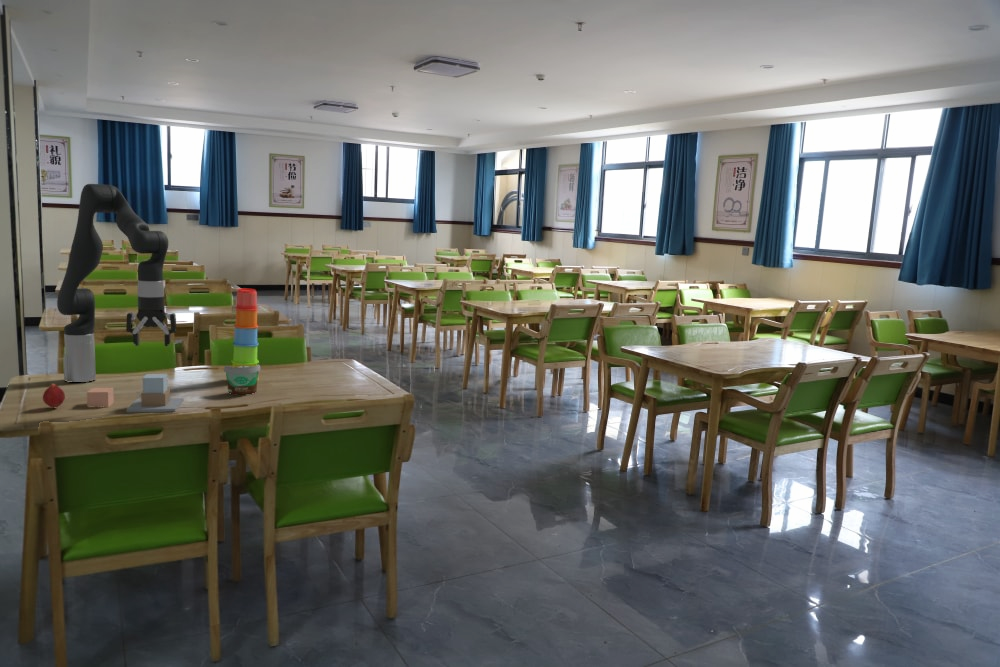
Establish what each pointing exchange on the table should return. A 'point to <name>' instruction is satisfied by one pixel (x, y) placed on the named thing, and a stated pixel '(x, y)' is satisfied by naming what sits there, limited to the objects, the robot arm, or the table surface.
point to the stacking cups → (246, 329)
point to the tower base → (157, 408)
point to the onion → (53, 396)
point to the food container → (242, 379)
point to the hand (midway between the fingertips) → (152, 345)
